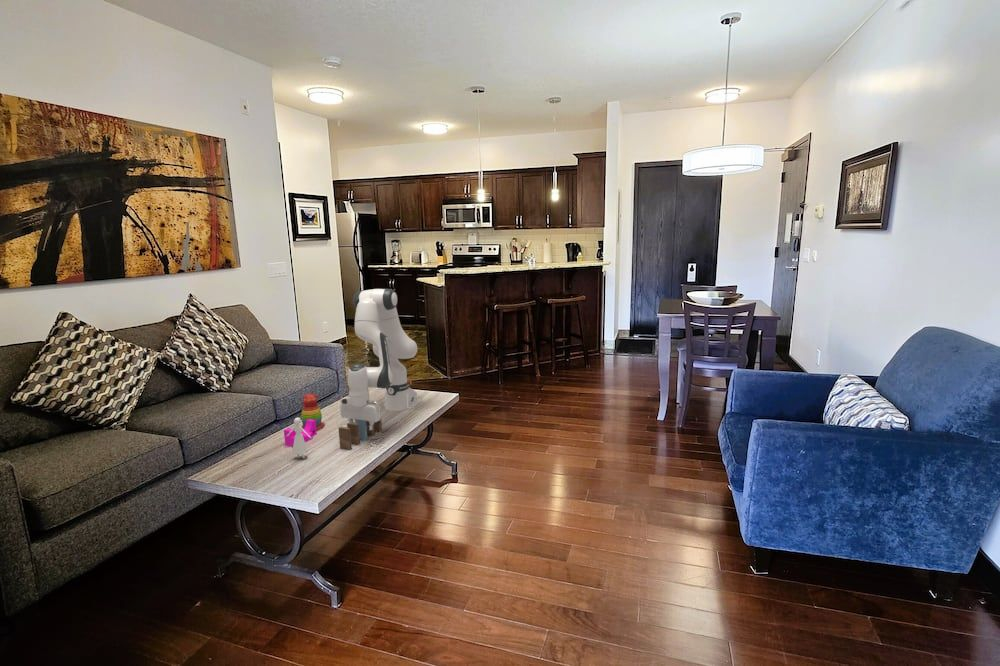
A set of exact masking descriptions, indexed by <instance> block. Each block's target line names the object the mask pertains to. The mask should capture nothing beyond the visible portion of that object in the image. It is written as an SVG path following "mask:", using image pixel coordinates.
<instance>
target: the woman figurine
mask: <svg viewBox="0 0 1000 666" xmlns="http://www.w3.org/2000/svg"><path fill="white" fill-rule="evenodd" d="M301 422H302V420H301V418H300V417H295V418H294V420H293V424H294V426H293V428H291V429H292V430H291V431H290V432H289V434H290V433H291V432H292V431H293V430H294V429H295V432H296V435H295V439H294V445H293V447H292V454H293V455H296V456H297V459H299V458H301V457H302V459H305V458H306V456H305V455H307V454H308V451H309V450H308V447H307V445H306V442H305V441H304V438H303V435H302V433H301V432H302V431H303V432H304V433H306V431H305V430H304V429H303V428H302V425H301V424H300V423H301ZM289 434H288V435H289ZM306 434H307V433H306ZM288 435H287V436H288ZM307 435H308V434H307ZM287 436H286V437H287ZM308 436H309V435H308ZM309 437H310V438H311V436H309Z"/></svg>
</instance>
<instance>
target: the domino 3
mask: <svg viewBox="0 0 1000 666" xmlns="http://www.w3.org/2000/svg"><path fill="white" fill-rule="evenodd" d="M354 423H357V424H358V426H359V440H360V441H367V440H368V435H367V425H366V421H363V420H356V419H354Z"/></svg>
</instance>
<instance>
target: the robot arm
mask: <svg viewBox="0 0 1000 666" xmlns="http://www.w3.org/2000/svg"><path fill="white" fill-rule="evenodd" d="M352 298H353V299H352V301H353V302H352V303H353V306H354V308H355V315H354V333H355V336H357V338H358V339H360V340H362V341H364V342H366V343H369V344H372V352H373V354H374V355H375V356H376V357H377V358H378V360H379V366H366V365H365V364H364V363H361V362H359V363H354V364H352V365H350V366H349V367H348V369H347V370H348V372H347V386H348V389H349V391H348V395H347V396H344V397H342V398H340V400H339V402H340V407H339V408H340V416H341V417H342V418H343V419H347V421H348V423H349V422H350V423H355V419H356V420H363V421H369V423H370V425H369V426H368V430H372V429H373V424H374V422H378V421H379V420H380V419H381V420H382V413H380V412H381V410H380V405H379V404H378V403H377V401H373V400H370V390H369V388H370V389H371V388H372V389H373V388H378V389H385V392H384V403H383V407H384V409H385V410H387V411H391V412H400V411H405V410H411V409H414V408H415V407H416V406H417V405H418V404H420V403H421V402H422V399H421V398H418V395H417V392H416V391H415V390H414V389H413V388H411V387H410V385H412V380H408V376H407V375H408V374H407V368H406V366H405V365H404V364H402V362H401V361H399V360H400V359H401V360H407V359H412V358H415V356H416V354H417V353H418V345H417V342H416V341H415V340H414V339H412V338H410V337H409V336H408V334H407V333H406V332H405V330H404V329H403V327H402V325H401V321H400V318H399V314H398V309H397V305H398V295H397V292H396V291H395V290H394V289H392V288H373V289H366V290H358V291H356V292H355V293H354V295H353V297H352Z"/></svg>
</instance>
